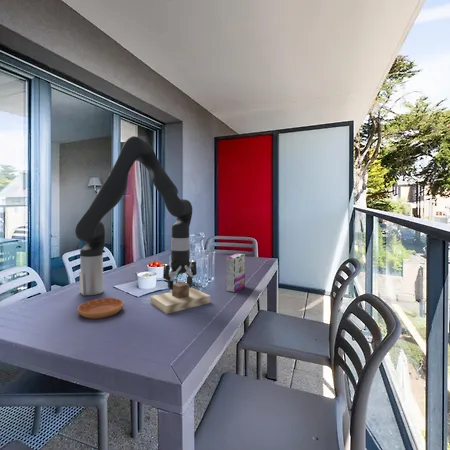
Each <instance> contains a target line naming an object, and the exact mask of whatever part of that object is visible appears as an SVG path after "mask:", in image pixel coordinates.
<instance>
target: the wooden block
mask: <svg viewBox="0 0 450 450" xmlns="http://www.w3.org/2000/svg"><path fill="white" fill-rule="evenodd" d="M210 303H211V295H210V294H207V293H205V292H202V291H200V290H199V289H196V288H194V287H189V296H188V297H184V298H179V299H178V298H176V297H174V296H172V291H170V292H165V293H160V294H156V295H151V296H150V305H152V306H153V307H155V308H157V309H158V310H160V311H162V313H165V314H166V315H167V314H171V313H175V312H179V311H180V312H181V311H183V310H188V309H191V308H195V307H199V306H203V305H207V304H210Z"/></svg>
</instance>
